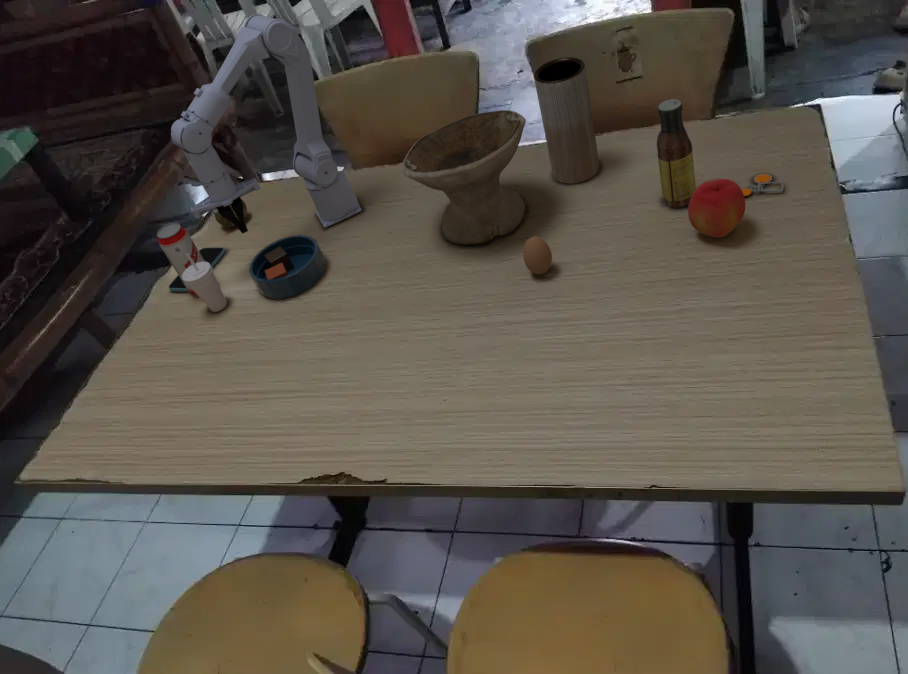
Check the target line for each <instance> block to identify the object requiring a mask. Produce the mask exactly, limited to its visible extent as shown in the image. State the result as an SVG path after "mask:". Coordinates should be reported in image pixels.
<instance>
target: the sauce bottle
mask: <svg viewBox="0 0 908 674" xmlns="http://www.w3.org/2000/svg"><path fill="white" fill-rule="evenodd" d="M657 111H658V115H659V118H660V119H659V120H660V131H659V133H658V135H657V138H656V149H657V163H658V172H659V178H660V186H661V196H662V198H663V201H664V204H665V205H666V206H668V207H672V208H682V207H687V206H689V202H690V199H691V196H692V194H693V193H694V191H695V190H696V188H697V187H696V186H697V184H696V173H695V162H694V154H693V143H692V141H691V139H690V137H689V135H688V132H687V130H686V128H685V125H684V121H683V113H682V112H683V103H682V101H680V100H679V99H676V98H670V99H667V100H664V101H662V102H660V103H659V104H658V106H657Z"/></svg>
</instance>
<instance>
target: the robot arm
mask: <svg viewBox="0 0 908 674" xmlns="http://www.w3.org/2000/svg"><path fill="white" fill-rule="evenodd" d="M297 29H298V28H296V27H295V26H293V25H292V24H291V23H289V22H287V21H286V20H284V19H282V18H274V17H269V16H265V15H263V14H261V13H254V14H252V15H250V16H249V17H248V18H247V19H246V21H245V22H244V25H243V26H242V27H241V28H240V29H239V30H238V31H237V34H236V38H235V41H234V43H233V45H232V47H231V48H230V51H229V52H228V54H227V56H226V58H225V59H224V61H223V63H222V65H221V67H220V68H219V70H218V71H217V74H216V76H215V77H214V79H213V80H212V82H211V83H207V84H202V85H201V88H198V87H197V88H196V89H195V90H194V91H193V95H195V97H194V98H193V100H192V101H191V103H190V104H189V106H188V107H187V109H186V110H185V111H182V112H181V114H180V116H181V117H180V118H179V119H176V120H175V121H174V122H173V123H172V125H171V128H170V137H171V138H170V141H171V142H172V144H174V145H175V146H176V147H178V148H180V149H181V150H182V152H183V154H184V156H185V158H186V159H187V161H188V164H189V166H190V167H191V169H192V171H193V173H194V174H195V176H196V178H197V179H198V181H199V183H200V184H201V186H202V188H203V189H204V191H205V192H206V194H207V197H205V198H204V199H202V200H201V201H199V202H198V203H196V204H194V205H192V206H190V209H191V212H192V214H193V216H194V217H195V219H196V220H197V219H200V218H201V217H202V216H203V215H205V214H207V213H209V212H211V211H214V210H215V209H216V208H217V210H218V212H219V214H220V215H221V216H222V217H224V218H226V219H227V220H229V221H230V222H232V223H233V224H234V225H235V226H234V227H236V228H237V229H238V231H240V233H241V234H245V233H248V231H249V229H248V227H247V225H246V221H245V220H246V219H244V213H243V202H242V200H243V199H242V197H245V196H246V195H249V194H250V193H252V192H255V191H256V192H258V191H260V190H261V186H260V184H259V182H258V180H257V178H256V177H253V178H251V179H248V180H245V181H241V182H238V183H234V181H233V180H232V177H231V176H230V174H229V172H228V171H227V169H226V167H225V165H224V163H223V162H222V160H221V158H220V156H219V154H218V152H217V150H216V149H215V148H214V147H213V144H212V141H213V140H212V139H213V138H212V133H213V131H214V129H215V128H216V126H217V125H218V123H219V122H220V120H221V119H222V117H223V115H224V114H225V112H226V111H227V109H228V107H229V106H230V99H229V94H230V92H231V91H232V90H233V88H234V87H235V86H236V84H237V83H238V81H239V80H240V79H241V77H242V76H243V75H244V74H245V72H246V71H247V69H248V68H249V67H250V65H251V64H252V63H253V62H258V61H261V60H265V59H270V57H271V56H273V57H274V58H275V59H277V61H279V62H281V63H282V64H283V65H284V69H285V77H286V82H287V87H288V94H289V99H290V105H291V111H292V117H293V122H294V129H295V136H296V139H297V140H296V142H295V144H294V145H293V151H294V152H293V153H294V154H293V159H292V168H293V171H294V173H295V174H296V175H297V176H299V177H301V178H303V180H304V184H305V188H306V189H307V192H308V194H309V196H310V198H311V200H312V202H313V204H314V206H315V208H316V210H317V211H316V212H315V214H316V216H317V218H318V219H319V221H320V222H321V224H322V226H323V228H324V229H326V228H329V227H331V226H333V225H336V224H337V223H339V222H341V221H344V220H345V219H346V220H347V219H348V218H350V217H352V216H354V215H356V214H359V213H360V212H362V211H363V210H362V207H361V205H360V203H359V201H358V197H357V194H356V193H355V191H354V189H353V187H352V185H351V182H350V180H349V178H348V176H347V175H346V173H345V172H344V171H343V170H341V171H339V168H338V165H337V163H336V162H335V160H334V159H333V156H332V155H333V154H332V150H331V149H330V147H329V146H328V145H327V143H326V142H325V140H324V139H323V133H322V125H321V120H320V113H319V105H318V99H317V92H316V86H315V78H314V72H313V66H312V59H311V53H310V51H309V49H308V48H307V45H306V44H305V43H304V42H303V40H302V38H301V37H300V35H299V34H298V31H297ZM270 55H271V56H270ZM241 199H242V200H241ZM229 204H230V205H231V207H232V209H233V210H232V209H231V207H230V205H229ZM233 211H234V212H235V214H236V216H237V217H238V219H239V220H238V219H237V217H236V216H235V214H234V212H233ZM239 221H240V222H239Z"/></svg>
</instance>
